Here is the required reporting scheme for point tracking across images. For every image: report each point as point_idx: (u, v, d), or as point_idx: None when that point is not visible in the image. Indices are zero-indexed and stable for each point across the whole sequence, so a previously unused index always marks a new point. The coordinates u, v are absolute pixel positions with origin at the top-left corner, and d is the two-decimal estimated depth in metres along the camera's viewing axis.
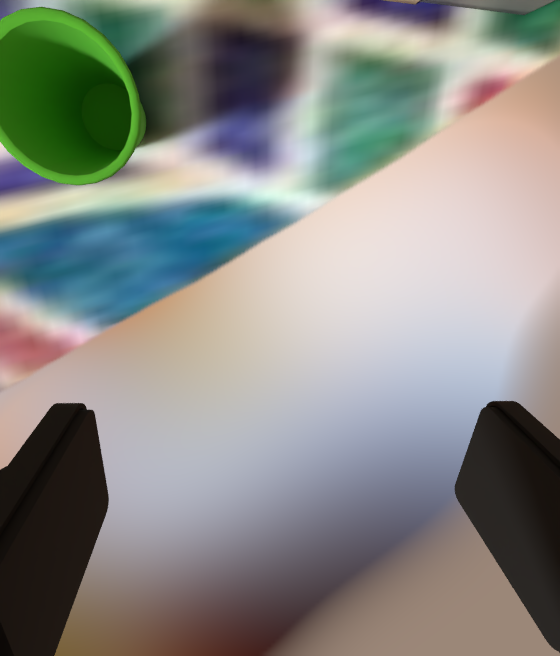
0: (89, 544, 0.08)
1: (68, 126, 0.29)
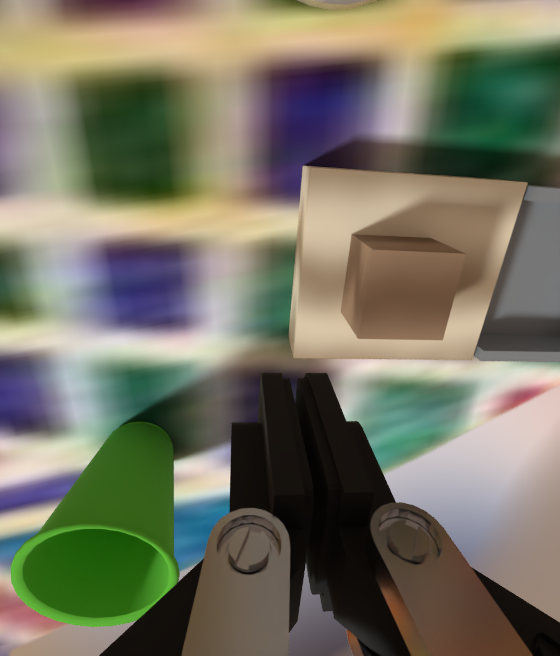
0: None
1: None
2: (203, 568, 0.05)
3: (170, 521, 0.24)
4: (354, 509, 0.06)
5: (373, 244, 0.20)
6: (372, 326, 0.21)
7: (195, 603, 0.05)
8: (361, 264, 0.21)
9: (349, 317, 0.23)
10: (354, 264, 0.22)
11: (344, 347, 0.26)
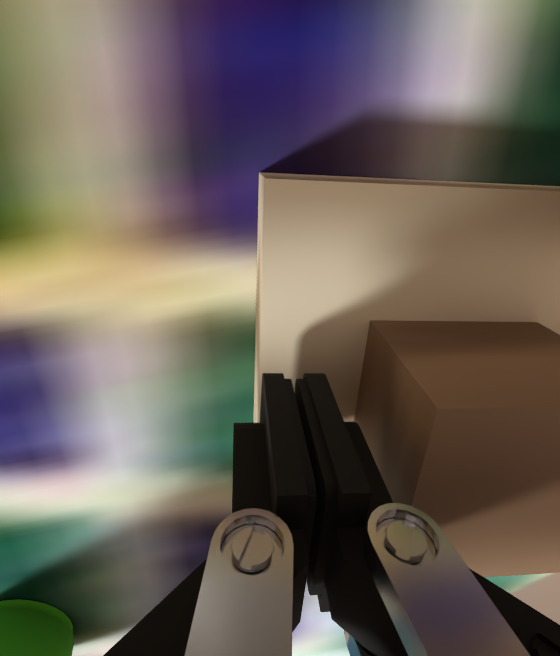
0: None
1: None
2: (206, 568, 0.05)
3: None
4: (351, 509, 0.06)
5: (429, 371, 0.08)
6: None
7: (198, 603, 0.05)
8: (398, 412, 0.09)
9: None
10: (378, 393, 0.10)
11: None
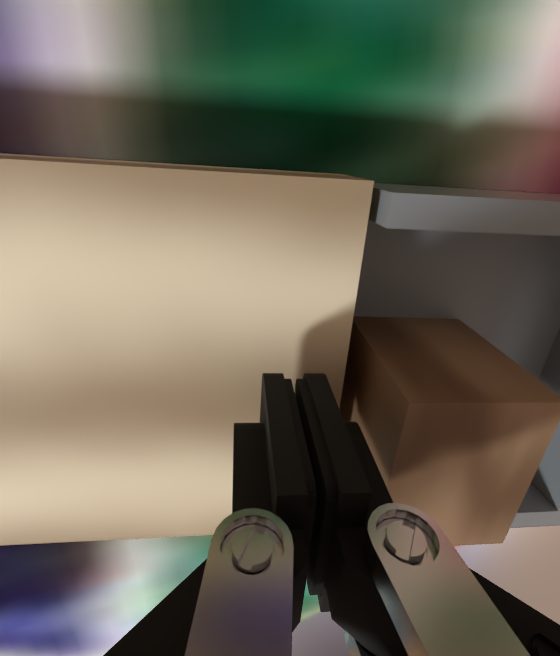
0: None
1: None
2: (206, 568, 0.05)
3: None
4: (351, 509, 0.06)
5: (507, 391, 0.09)
6: None
7: (198, 603, 0.05)
8: (501, 439, 0.09)
9: None
10: (450, 451, 0.09)
11: (38, 525, 0.12)
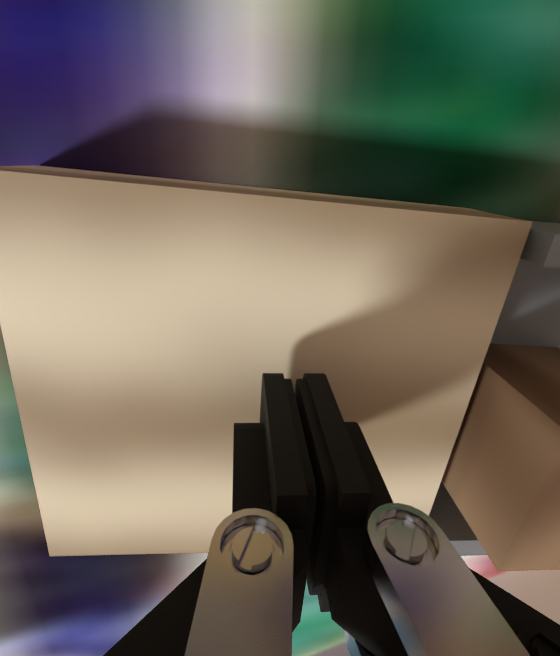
0: None
1: None
2: (206, 568, 0.05)
3: None
4: (351, 509, 0.06)
5: None
6: None
7: (198, 603, 0.05)
8: None
9: None
10: None
11: (154, 535, 0.13)
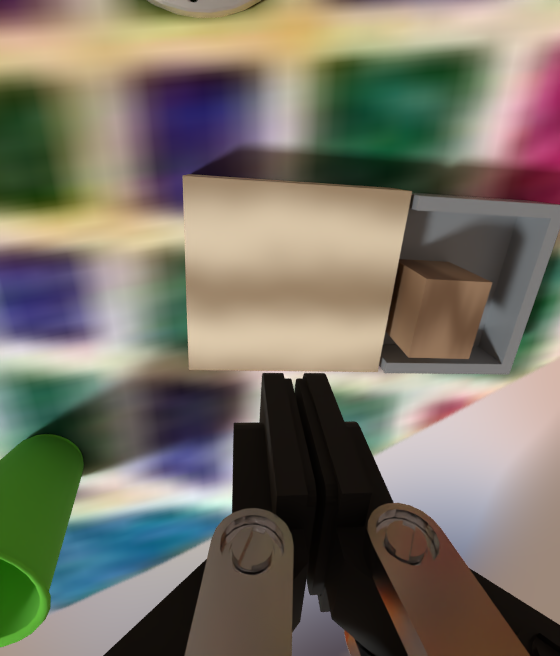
0: None
1: None
2: (206, 568, 0.05)
3: (51, 539, 0.23)
4: (351, 509, 0.06)
5: (467, 279, 0.22)
6: None
7: (198, 603, 0.05)
8: (465, 299, 0.22)
9: (440, 352, 0.23)
10: (443, 304, 0.22)
11: (241, 358, 0.25)
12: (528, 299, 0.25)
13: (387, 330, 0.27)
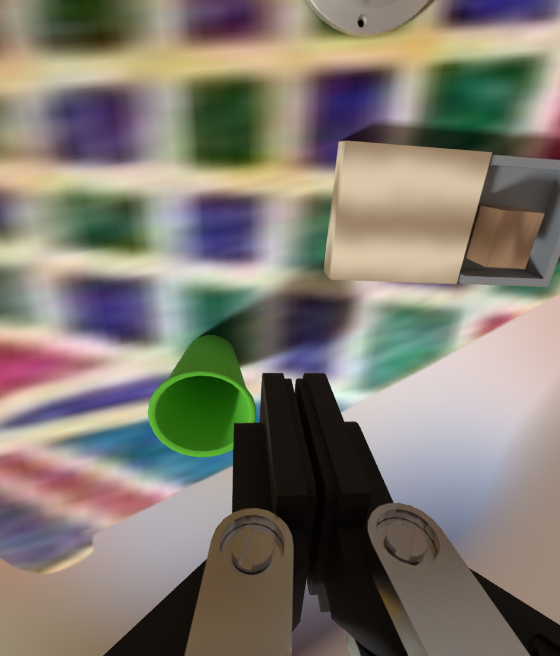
0: None
1: None
2: (206, 568, 0.05)
3: None
4: (351, 509, 0.06)
5: (527, 211, 0.33)
6: None
7: (198, 603, 0.05)
8: (526, 225, 0.33)
9: (506, 263, 0.35)
10: (511, 228, 0.33)
11: (365, 271, 0.36)
12: None
13: None
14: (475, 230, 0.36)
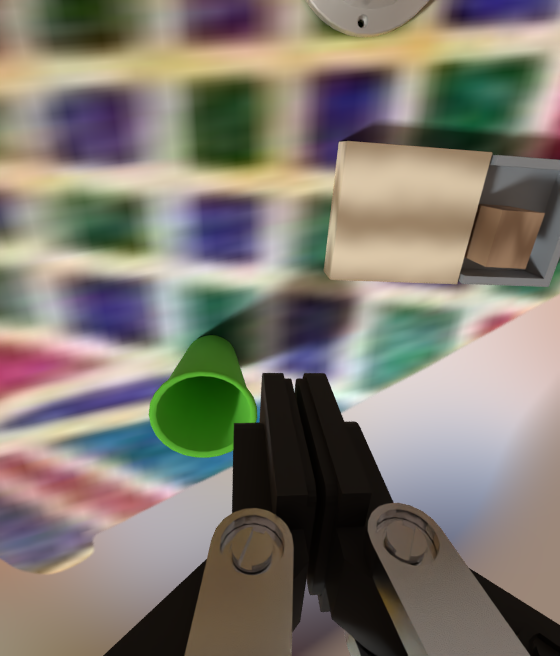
0: None
1: None
2: (206, 568, 0.05)
3: None
4: (351, 509, 0.06)
5: (528, 211, 0.33)
6: None
7: (198, 603, 0.05)
8: (526, 225, 0.33)
9: (507, 263, 0.35)
10: (512, 228, 0.33)
11: (366, 272, 0.36)
12: None
13: None
14: (475, 230, 0.36)
